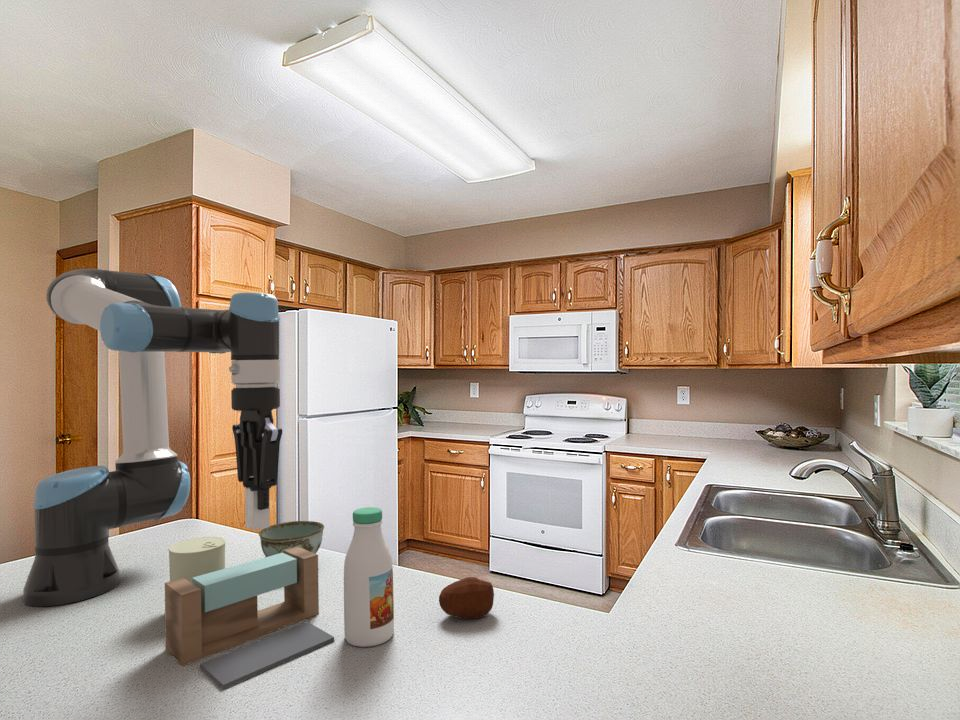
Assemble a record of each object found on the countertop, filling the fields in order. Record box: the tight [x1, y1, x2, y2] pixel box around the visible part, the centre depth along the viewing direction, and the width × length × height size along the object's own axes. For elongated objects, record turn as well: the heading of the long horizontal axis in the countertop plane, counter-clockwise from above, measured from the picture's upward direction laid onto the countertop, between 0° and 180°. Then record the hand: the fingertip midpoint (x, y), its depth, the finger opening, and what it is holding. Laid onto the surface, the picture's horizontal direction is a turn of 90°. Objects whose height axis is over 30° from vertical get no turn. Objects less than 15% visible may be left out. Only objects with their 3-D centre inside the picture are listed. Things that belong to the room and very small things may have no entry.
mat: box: [199, 621, 335, 690], centre depth 82 cm, size 8×17×1 cm, turn 137°
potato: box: [438, 576, 495, 620], centre depth 93 cm, size 7×9×6 cm
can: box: [168, 536, 226, 583], centre depth 98 cm, size 9×9×12 cm
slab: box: [192, 553, 297, 612], centre depth 90 cm, size 5×15×4 cm, turn 137°
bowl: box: [258, 520, 325, 557], centre depth 119 cm, size 14×13×8 cm
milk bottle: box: [343, 506, 395, 648], centre depth 87 cm, size 8×8×20 cm
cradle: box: [164, 546, 320, 667], centre depth 90 cm, size 7×22×10 cm, turn 137°
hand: (257, 526), depth 91 cm, fingers open, 1 cm apart
